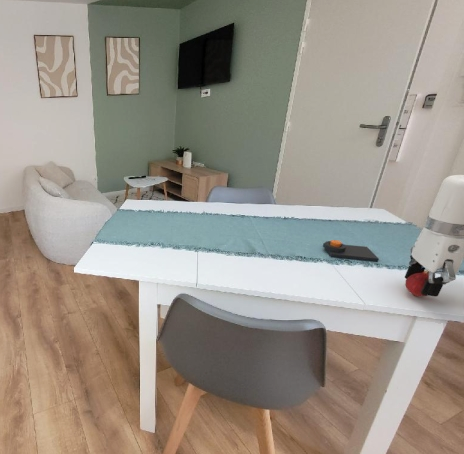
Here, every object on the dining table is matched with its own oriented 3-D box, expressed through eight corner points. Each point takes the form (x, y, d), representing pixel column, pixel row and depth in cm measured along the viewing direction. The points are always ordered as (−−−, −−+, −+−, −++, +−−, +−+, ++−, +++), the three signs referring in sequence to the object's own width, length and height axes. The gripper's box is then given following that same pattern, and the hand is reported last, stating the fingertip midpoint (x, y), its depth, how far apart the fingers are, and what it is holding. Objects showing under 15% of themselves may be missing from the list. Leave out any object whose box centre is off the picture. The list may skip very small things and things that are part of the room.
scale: (365, 250, 104) (368, 242, 102) (377, 262, 96) (380, 254, 95) (319, 245, 108) (321, 238, 107) (327, 257, 101) (329, 249, 99)
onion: (431, 305, 76) (444, 279, 73) (401, 297, 79) (412, 272, 76) (430, 295, 80) (442, 270, 76) (401, 287, 83) (411, 263, 80)
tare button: (338, 244, 103) (339, 240, 103) (341, 248, 101) (342, 244, 100) (328, 243, 104) (329, 239, 104) (331, 247, 102) (332, 243, 101)
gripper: (497, 243, 63) (461, 309, 70) (444, 215, 77) (419, 272, 84) (451, 239, 65) (420, 303, 72) (408, 213, 80) (386, 268, 87)
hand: (420, 286), depth 78 cm, fingers open, 6 cm apart
